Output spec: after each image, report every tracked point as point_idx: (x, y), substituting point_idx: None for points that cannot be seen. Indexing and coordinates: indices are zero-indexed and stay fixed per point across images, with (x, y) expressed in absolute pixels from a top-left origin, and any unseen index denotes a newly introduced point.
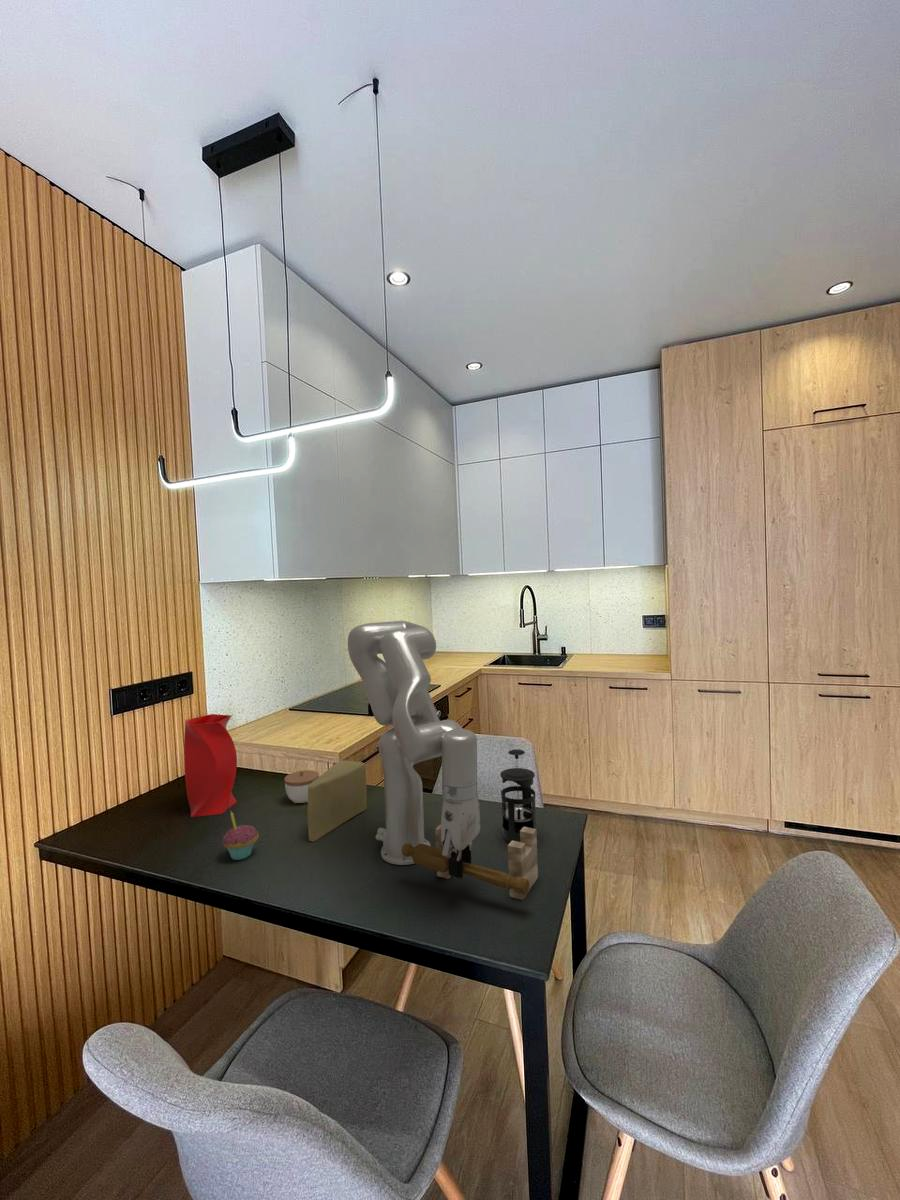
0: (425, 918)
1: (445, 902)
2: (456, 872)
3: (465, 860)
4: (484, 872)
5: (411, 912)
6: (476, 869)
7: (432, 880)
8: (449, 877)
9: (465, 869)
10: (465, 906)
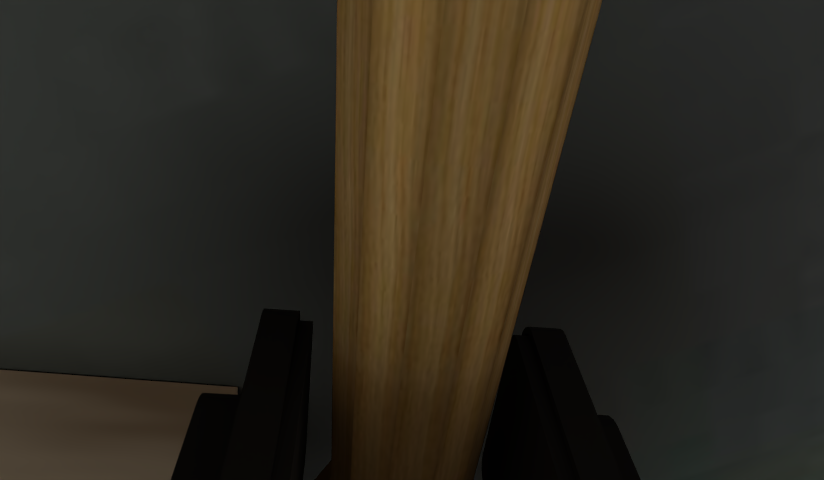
0: (789, 354)
1: (559, 300)
2: (623, 444)
3: (297, 450)
4: (570, 26)
5: (724, 448)
6: (519, 217)
7: (308, 469)
8: (216, 389)
9: (502, 369)
10: (580, 125)
